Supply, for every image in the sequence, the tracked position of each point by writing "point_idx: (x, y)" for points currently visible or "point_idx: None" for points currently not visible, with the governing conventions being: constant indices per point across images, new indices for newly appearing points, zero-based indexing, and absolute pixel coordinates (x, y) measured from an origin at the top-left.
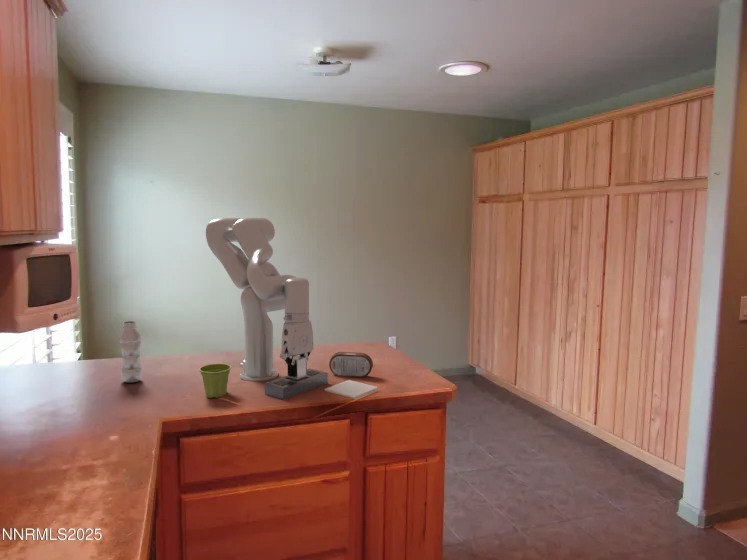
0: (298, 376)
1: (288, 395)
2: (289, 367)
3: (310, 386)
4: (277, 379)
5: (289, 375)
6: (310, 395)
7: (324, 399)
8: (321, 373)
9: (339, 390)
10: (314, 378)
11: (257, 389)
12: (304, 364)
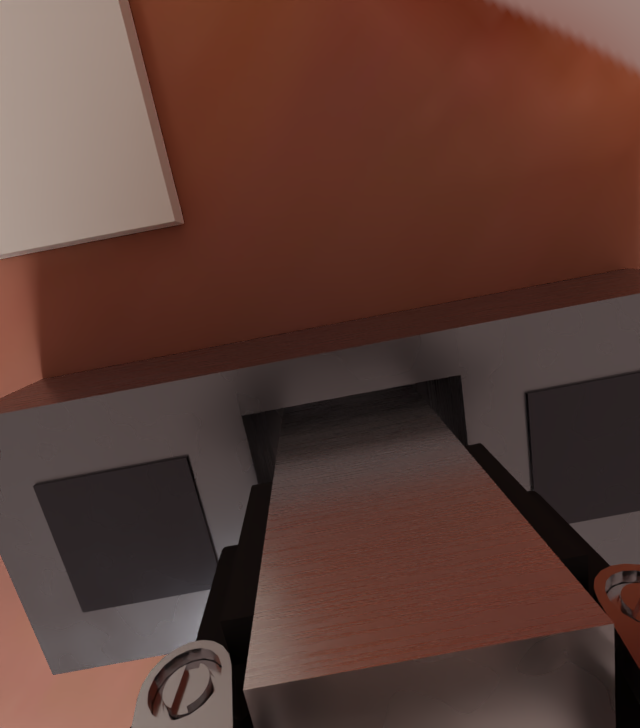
0: (426, 431)
1: (584, 282)
2: None
3: (276, 342)
4: None
5: None
6: (350, 235)
7: (316, 29)
8: (28, 455)
9: (63, 50)
10: (199, 372)
11: None
12: (311, 548)
